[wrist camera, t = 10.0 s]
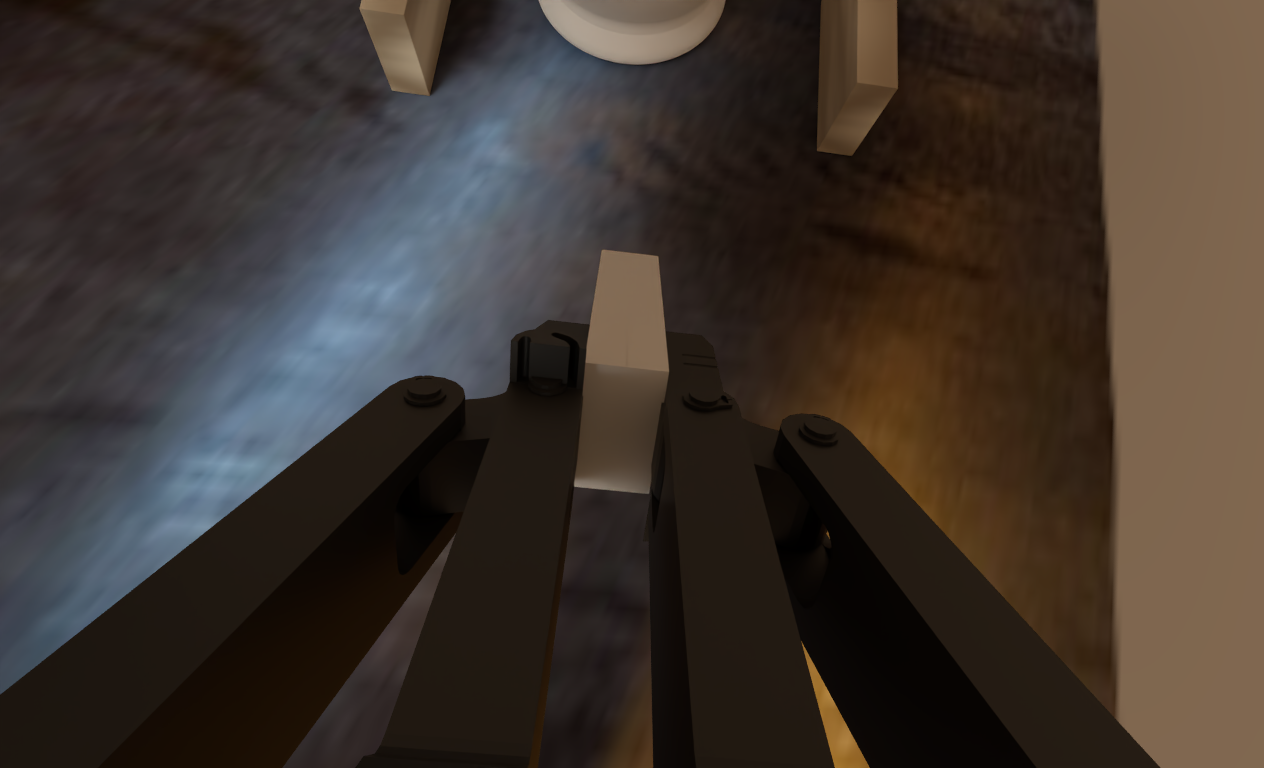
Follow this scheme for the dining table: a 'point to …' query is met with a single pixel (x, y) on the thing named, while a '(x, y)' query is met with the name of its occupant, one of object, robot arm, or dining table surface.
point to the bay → (848, 65)
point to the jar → (634, 26)
